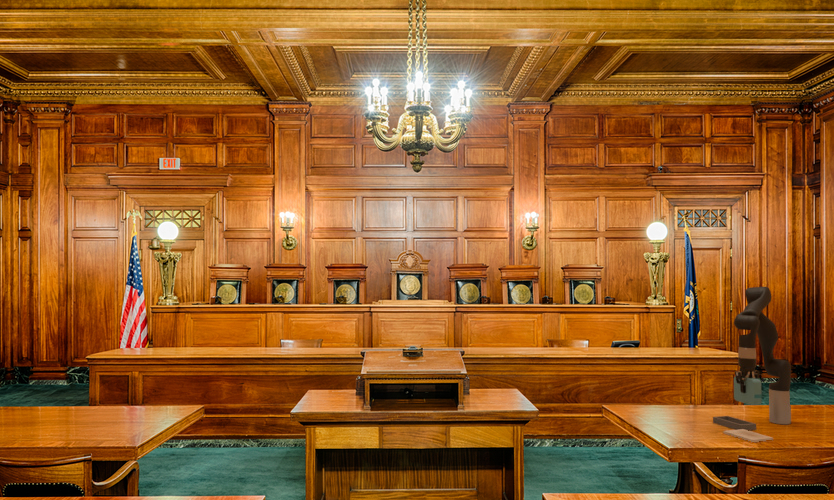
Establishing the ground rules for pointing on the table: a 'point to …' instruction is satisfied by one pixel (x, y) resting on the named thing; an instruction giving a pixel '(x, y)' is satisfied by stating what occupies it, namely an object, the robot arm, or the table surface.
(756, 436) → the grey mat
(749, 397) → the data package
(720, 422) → the holder box
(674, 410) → the table surface
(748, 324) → the robot arm
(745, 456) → the table surface
